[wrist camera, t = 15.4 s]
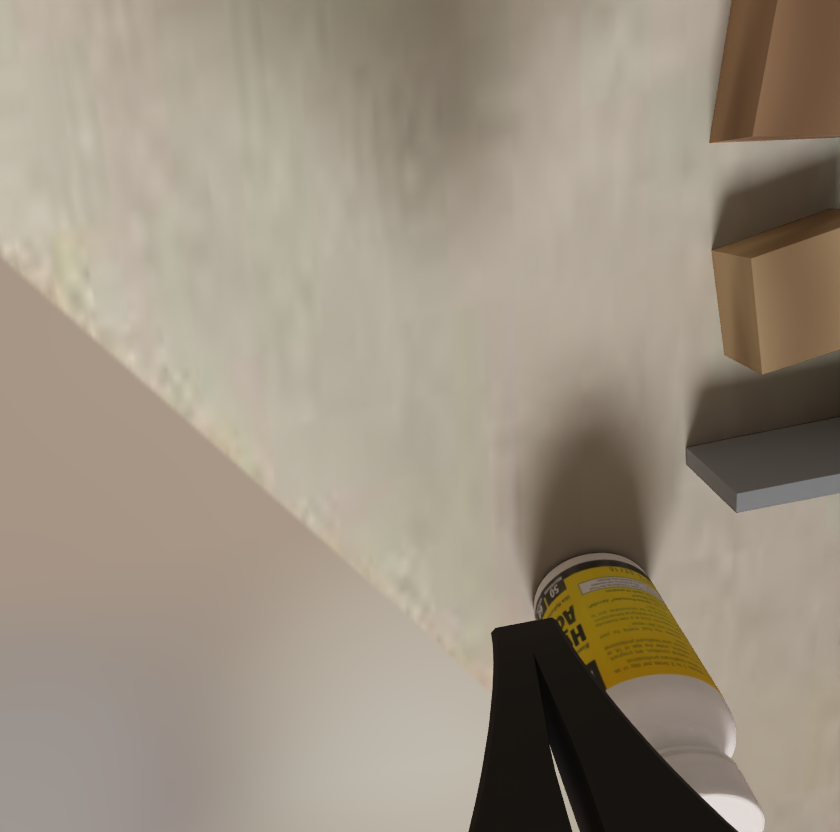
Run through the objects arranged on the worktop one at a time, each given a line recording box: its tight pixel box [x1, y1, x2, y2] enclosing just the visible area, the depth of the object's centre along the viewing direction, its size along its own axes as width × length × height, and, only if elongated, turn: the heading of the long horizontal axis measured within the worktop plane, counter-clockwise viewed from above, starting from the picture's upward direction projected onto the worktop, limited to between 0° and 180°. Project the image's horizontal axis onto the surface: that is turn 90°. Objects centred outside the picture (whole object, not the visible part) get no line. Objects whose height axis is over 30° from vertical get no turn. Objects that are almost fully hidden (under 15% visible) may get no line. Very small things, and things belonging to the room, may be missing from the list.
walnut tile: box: [709, 0, 840, 143], centre depth 15 cm, size 4×4×2 cm
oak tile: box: [711, 209, 840, 375], centre depth 18 cm, size 4×4×2 cm
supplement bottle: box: [534, 553, 765, 832], centre depth 20 cm, size 5×5×10 cm
